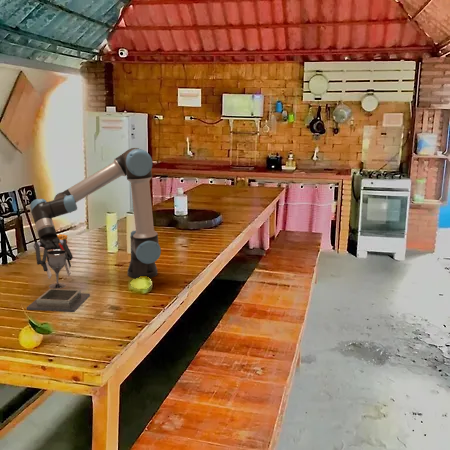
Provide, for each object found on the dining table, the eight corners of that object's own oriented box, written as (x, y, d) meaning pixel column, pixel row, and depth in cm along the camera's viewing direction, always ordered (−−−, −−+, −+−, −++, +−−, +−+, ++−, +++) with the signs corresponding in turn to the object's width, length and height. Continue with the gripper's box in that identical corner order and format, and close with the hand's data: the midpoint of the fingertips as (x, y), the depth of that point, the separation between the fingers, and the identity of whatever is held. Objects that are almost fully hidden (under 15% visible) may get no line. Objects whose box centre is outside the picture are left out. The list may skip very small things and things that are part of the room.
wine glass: (47, 289, 215) (45, 254, 212) (48, 283, 223) (47, 250, 220) (67, 288, 217) (66, 254, 214) (67, 282, 225) (66, 249, 222)
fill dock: (89, 295, 231) (89, 288, 230) (74, 311, 211) (73, 303, 211) (46, 293, 232) (46, 286, 231) (26, 309, 213) (26, 301, 212)
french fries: (50, 258, 289) (49, 235, 286) (52, 256, 293) (51, 234, 290) (67, 258, 290) (66, 235, 288) (68, 256, 295) (68, 233, 292)
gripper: (67, 233, 234) (81, 276, 225) (20, 238, 222) (33, 283, 213) (71, 223, 229) (85, 267, 220) (23, 228, 217) (36, 274, 208)
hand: (59, 275), depth 216 cm, fingers closed on wine glass, 7 cm apart
